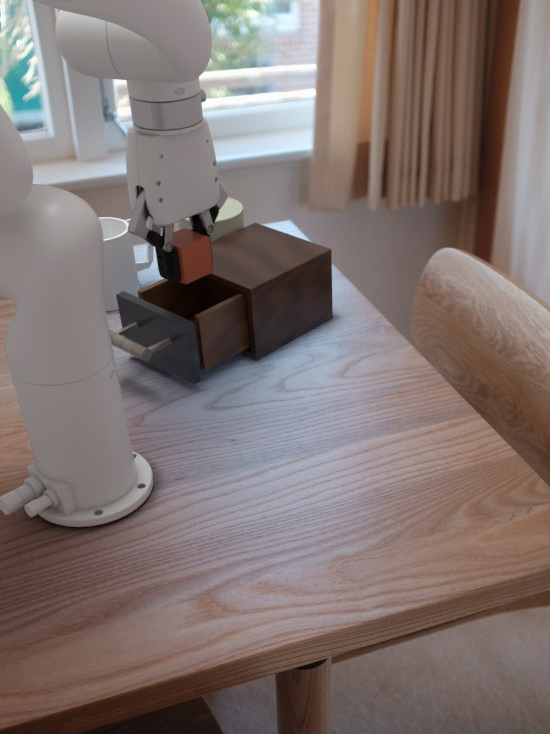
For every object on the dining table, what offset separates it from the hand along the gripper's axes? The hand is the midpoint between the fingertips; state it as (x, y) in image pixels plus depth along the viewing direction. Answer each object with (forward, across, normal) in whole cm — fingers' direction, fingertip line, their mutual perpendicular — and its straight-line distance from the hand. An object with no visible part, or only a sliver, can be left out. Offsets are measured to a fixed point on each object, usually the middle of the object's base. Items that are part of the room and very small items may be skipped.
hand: (186, 270), depth 108 cm
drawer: (+11, +2, 0) cm, 11 cm away
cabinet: (+12, -11, 0) cm, 16 cm away
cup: (+12, -5, -21) cm, 25 cm away
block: (0, 0, 0) cm, 0 cm away
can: (+12, -15, -12) cm, 23 cm away
